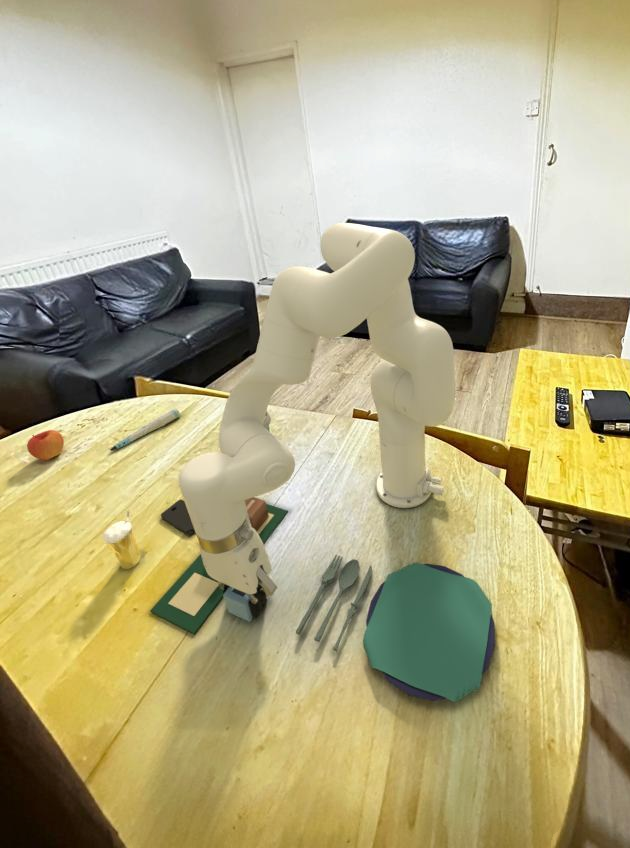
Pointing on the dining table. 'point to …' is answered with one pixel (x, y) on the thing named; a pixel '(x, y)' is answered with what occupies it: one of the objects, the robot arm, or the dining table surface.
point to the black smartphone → (179, 517)
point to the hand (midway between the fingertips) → (247, 603)
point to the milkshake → (123, 543)
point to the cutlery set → (421, 628)
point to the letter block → (256, 512)
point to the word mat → (202, 587)
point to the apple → (46, 445)
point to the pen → (149, 428)
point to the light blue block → (238, 603)
